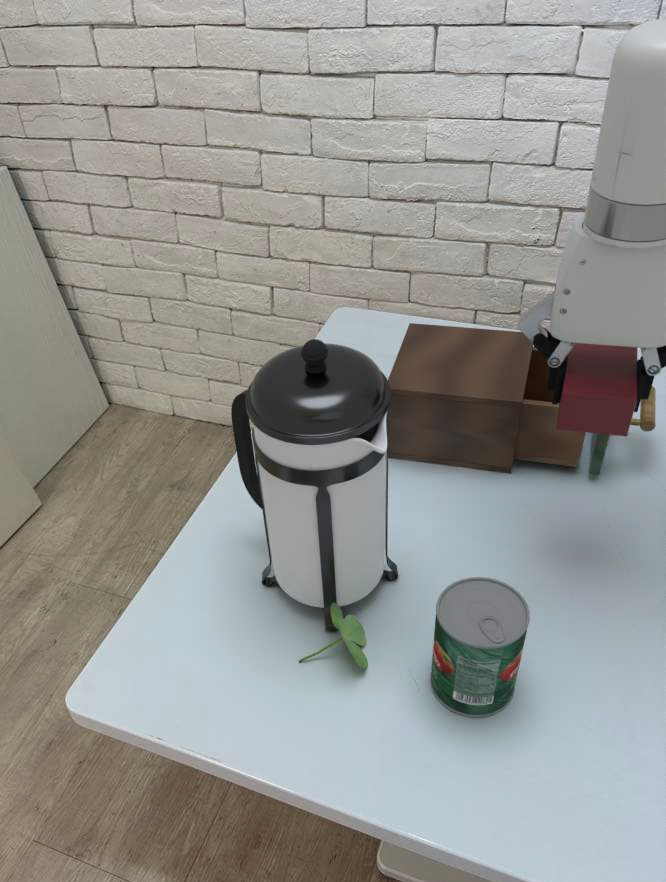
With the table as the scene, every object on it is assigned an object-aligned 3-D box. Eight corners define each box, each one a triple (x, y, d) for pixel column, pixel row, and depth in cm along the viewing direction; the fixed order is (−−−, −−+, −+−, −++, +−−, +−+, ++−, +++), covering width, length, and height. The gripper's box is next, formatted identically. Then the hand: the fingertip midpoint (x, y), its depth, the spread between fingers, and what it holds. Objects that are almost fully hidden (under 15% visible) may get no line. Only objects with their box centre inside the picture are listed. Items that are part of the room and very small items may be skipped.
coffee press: (397, 525, 93) (402, 286, 72) (399, 634, 82) (406, 390, 61) (250, 525, 95) (213, 295, 74) (232, 631, 84) (183, 396, 63)
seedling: (329, 680, 85) (381, 652, 82) (308, 705, 77) (365, 675, 75) (294, 622, 85) (344, 592, 83) (269, 641, 78) (324, 609, 75)
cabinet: (524, 403, 106) (535, 332, 99) (511, 473, 97) (522, 401, 90) (407, 390, 111) (409, 322, 103) (384, 457, 102) (384, 387, 94)
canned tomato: (417, 660, 79) (422, 588, 72) (492, 641, 80) (504, 567, 72) (449, 727, 74) (457, 657, 66) (529, 706, 75) (547, 633, 67)
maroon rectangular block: (562, 373, 79) (569, 338, 76) (628, 379, 77) (638, 343, 74) (556, 429, 73) (563, 393, 70) (627, 436, 71) (637, 399, 68)
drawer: (644, 412, 101) (662, 352, 95) (643, 481, 92) (662, 420, 86) (488, 396, 107) (495, 338, 101) (473, 459, 98) (479, 400, 92)
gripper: (758, 191, 62) (694, 385, 75) (526, 186, 67) (503, 369, 80) (767, 235, 57) (697, 434, 70) (516, 226, 62) (494, 414, 75)
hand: (594, 398), depth 75 cm, fingers closed on maroon rectangular block, 6 cm apart
